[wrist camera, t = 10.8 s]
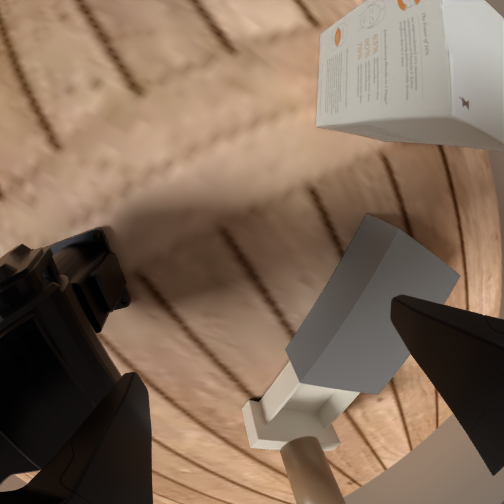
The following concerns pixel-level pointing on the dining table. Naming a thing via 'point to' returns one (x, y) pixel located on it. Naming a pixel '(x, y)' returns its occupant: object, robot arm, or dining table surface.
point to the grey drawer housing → (366, 310)
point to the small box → (415, 73)
